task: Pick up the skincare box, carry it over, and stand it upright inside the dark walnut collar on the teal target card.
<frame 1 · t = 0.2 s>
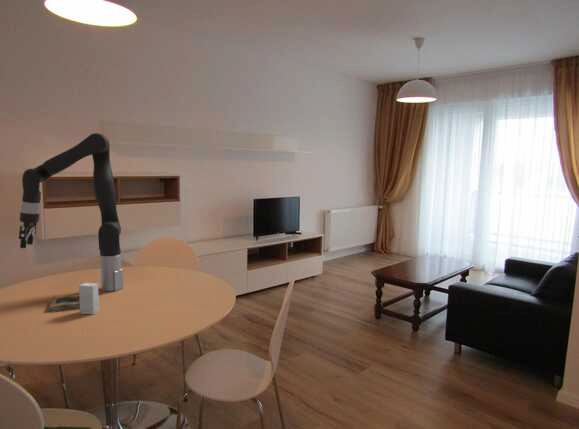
hand: (26, 246, 188), 22 cm above the table, tool pointing down, fingers open, 8 cm apart
stand: (67, 305, 176), on the table
skincare box: (89, 312, 169), on the table
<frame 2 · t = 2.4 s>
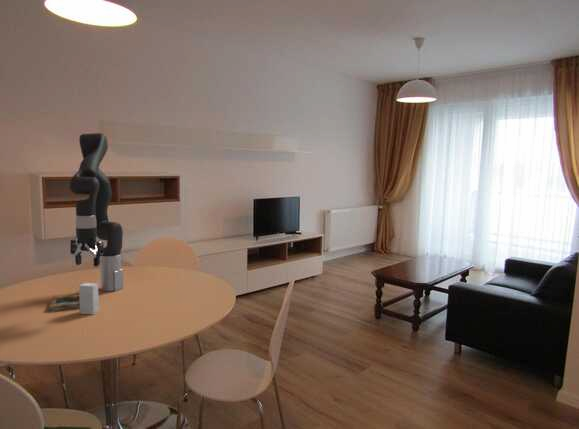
hand: (87, 265, 166), 20 cm above the table, tool pointing down, fingers open, 8 cm apart
nothing on the table moved.
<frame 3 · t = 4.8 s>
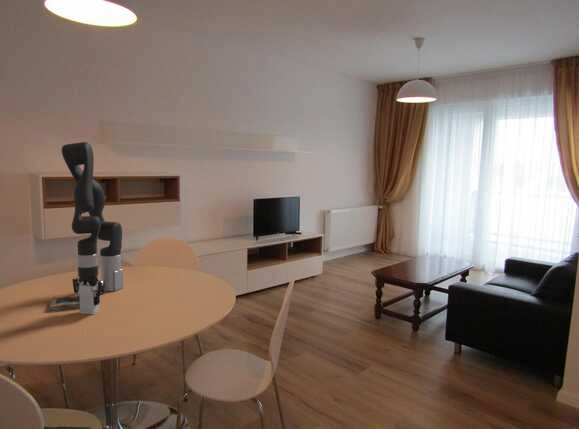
hand: (89, 303, 169), 4 cm above the table, tool pointing down, fingers closed on skincare box, 6 cm apart
skincare box: (89, 312, 169), on the table, touching gripper
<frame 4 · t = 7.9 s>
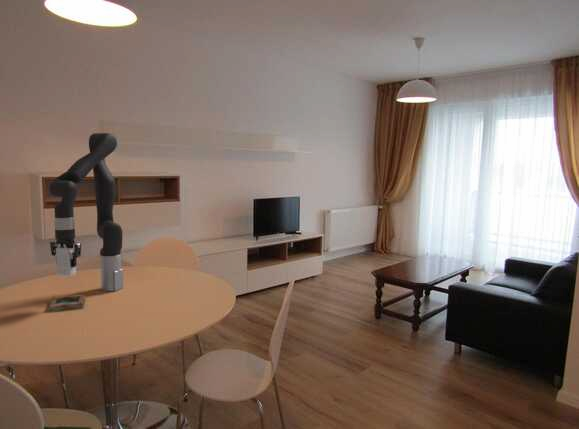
hand: (66, 266, 174), 17 cm above the table, tool pointing down, fingers closed on skincare box, 6 cm apart
skincare box: (66, 275, 175), point 14 cm above the table, touching gripper
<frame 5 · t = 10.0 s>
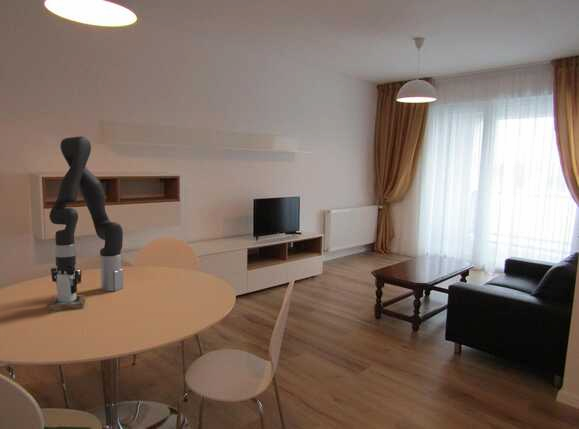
hand: (67, 292, 176), 6 cm above the table, tool pointing down, fingers closed on skincare box, 6 cm apart
skincare box: (67, 301, 176), point 2 cm above the table, touching gripper
when the fingers open (6 cm above the table, at t = 11.0 s): skincare box drops 2 cm, resting on stand.
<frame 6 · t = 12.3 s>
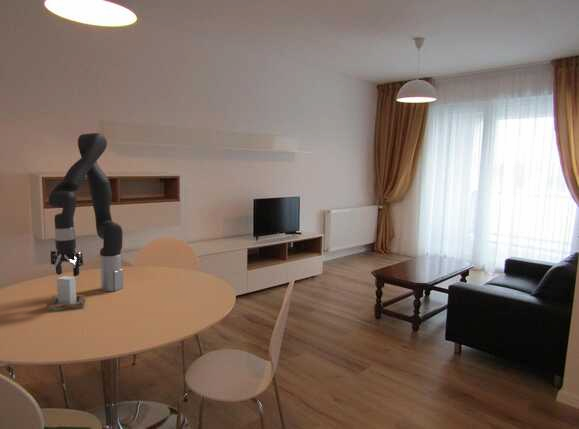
hand: (67, 275, 175), 13 cm above the table, tool pointing down, fingers open, 8 cm apart
skincare box: (67, 304, 176), resting on stand
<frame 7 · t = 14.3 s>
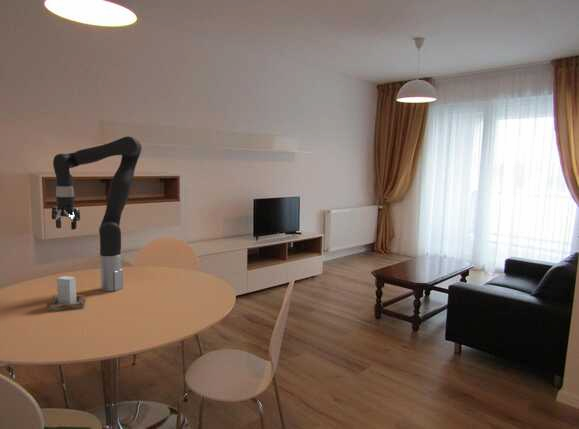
hand: (66, 228, 198), 29 cm above the table, tool pointing down, fingers open, 8 cm apart
nothing on the table moved.
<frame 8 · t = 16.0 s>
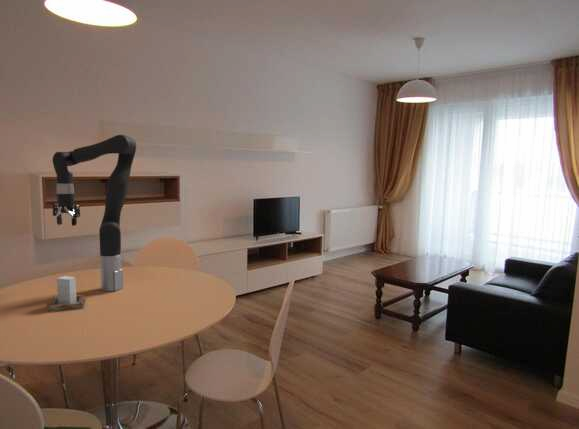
hand: (66, 225, 203), 30 cm above the table, tool pointing down, fingers open, 8 cm apart
nothing on the table moved.
at the end: skincare box 0.3 cm off-centre on the stand, point 0.1 cm above the stand's base; skincare box tilted 0°; the gripper is holding nothing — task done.
